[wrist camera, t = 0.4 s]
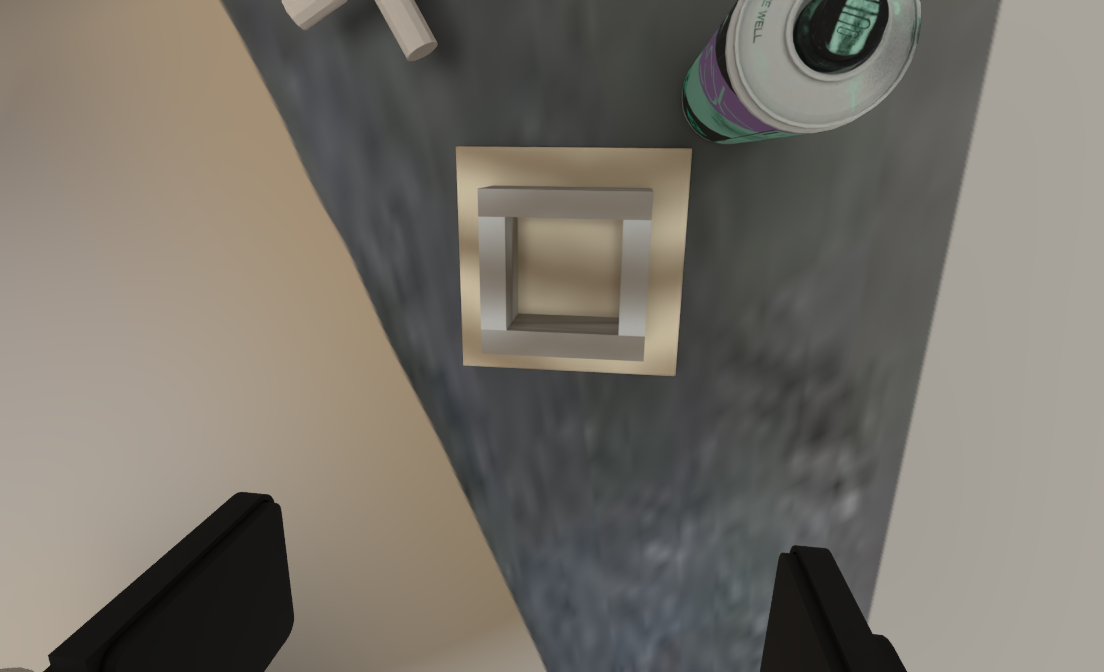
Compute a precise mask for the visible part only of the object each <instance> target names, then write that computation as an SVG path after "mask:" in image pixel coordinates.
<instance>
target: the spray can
mask: <svg viewBox="0 0 1104 672" xmlns="http://www.w3.org/2000/svg"><path fill="white" fill-rule="evenodd" d="M920 27H921V4H920V0H738V1H737V2H736V4H735V5H734V7H733V8H732V9H731V11H730V12H729V14H728V15H727V17H726V18H725V19H724V21H723V22H722V24H721V25H720V27H719V28H718V29H717V31H716V32H715V34H714V35H713V37H712V38H711V39H710V41H709V42H708V44H707V45H706V46H705V48H704V49H703V51H702V52H701V54H700V55H699V56H698V58H697V59H696V61H695V62H694V64H693V65H692V67H691V68H690V70H689V71H688V74H687V76H686V78H685V81H684V85H683V89H682V107H683V112H684V115H685V118H686V120H687V121H688V123H689V125H690V127H691V128H692V129H693V130H694V131H695V132H696V133H697V134H698V135H700V136H701V137H702V138H704V139H706V140H709V141H711V142H714V143H719V144H736V143H743V142H751V141H758V140H765V139H773V138H780V137H787V136H795V135H802V134H810V133H816V132H821V131H826V130H831V129H835V128H837V127H840V126H842V125H845V124H847V123H850V122H851V121H853V120H855V119H856V118H858V117H860V116H861V115H863V114H865V113H866V112H868V111H870V110H871V109H873V108H874V107H875V106H877V105H878V104H879V103H880V102H881V101H882V100H883V99H884V98H886V97H887V96H888V95H889V94H890V93H891V91H892V90H893V89H894V88H895V86H896V85H897V84H898V83H899V81H900V80H901V79H902V77H903V75H904V74H905V72H906V70H907V68H908V66H909V65H910V63H911V61H912V58H913V55H914V52H915V50H916V47H917V44H918V39H919V33H920Z"/></svg>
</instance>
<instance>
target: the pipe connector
mask: <svg viewBox="0 0 1104 672" xmlns="http://www.w3.org/2000/svg"><path fill="white" fill-rule="evenodd" d="M347 1H348V0H282V3H283V5H284V7H285V10H286V11H287V12H288V14H289V15H290V17H291V18H292V19H293V20H294V21H295V23H296V24H297V25H298V26H299V27H301V28H302V29H304V30H308V29H309V28H311V27H312V26H314V25H315V24H316V23H318V22H319V21H321V20H322V19H323V18H325V17H326V16H328V15H329V14H330V13H332V12H333V11H334V10H336V9H337V8H339V7H340V6H341V5H343V4H344V3H346V2H347ZM375 2H376V4H377V5H378V7H379V9H380V11H381V13H382V14H383V16H384V18H385V20H386V22H387V23H388V25H389V27H390V29H391V31H392V32H393V34H394V36H395V38H396V40H397V42H398V43H399V45H400V47H401V49H402V51H403V52H404V54H405V56H406V58H407V60H408V61H415V60H418V59H421V58H423V57H425V56H427V55H428V54H430V53H431V52H432V51H433V50H434V49H435V48H436V47H437V41H436V40H435V38H434V36H433V34H432V32H431V30H430V28H429V27H428V25H427V23H426V21H425V19H424V17H423V16H422V14H421V12H420V10H419V8H418V6H417V4H416V3H415V1H414V0H375Z"/></svg>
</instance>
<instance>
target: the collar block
mask: <svg viewBox="0 0 1104 672" xmlns="http://www.w3.org/2000/svg"><path fill="white" fill-rule="evenodd" d="M691 158H692V149H686V148H573V147H460V146H456V163H457V192H458V221H459V250H460V279H461V308H462V337H463V365H469V366H488V367H508V368H527V369H547V370H566V371H586V372H605V373H625V374H645V375H664V376H675V373H676V359H677V346H678V333H679V319H680V306H681V292H682V279H683V266H684V252H685V239H686V225H687V212H688V198H689V185H690V172H691Z"/></svg>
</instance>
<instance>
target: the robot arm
mask: <svg viewBox="0 0 1104 672" xmlns="http://www.w3.org/2000/svg"><path fill="white" fill-rule="evenodd" d="M293 623H294V612H293V603H292V595H291V588H290V578H289V570H288V562H287V553H286V545H285V537H284V529H283V521H282V512H281V507H280V505H279V504H277V503H274V500H273V498H272V497H271V496H270V495H268V494H257V493H248V492H239V493H236V494H235V495H233V496H232V497H231V498H230V499H229V500H228V501H226V503H224V504H223V505H222V506H221V507H219V508H218V509H217V510H216V511H215V512H214V513H213V514H211V516H209V517H208V518H207V519H206V520H204V521H203V522H202V523H201V524H200V525H199V526H198V527H196V528H195V529H194V530H193V531H192V532H191V533H190V534H188V535H187V536H186V537H185V538H183V539H182V540H181V541H180V542H179V543H178V544H177V545H175V546H174V547H173V548H172V549H171V550H170V551H168V552H167V553H166V554H165V555H164V556H163V557H162V558H160V559H159V560H158V561H157V562H156V563H155V564H153V565H152V566H151V567H150V568H149V569H148V570H146V571H145V572H144V573H143V574H142V575H141V576H140V577H138V578H137V579H136V580H135V581H134V582H133V583H131V584H130V585H129V586H128V587H127V588H126V589H124V590H123V591H122V592H121V593H120V594H119V595H117V596H116V597H115V598H114V599H113V600H112V601H111V602H109V603H108V604H107V605H106V606H105V607H104V608H102V609H101V610H100V611H99V612H98V613H97V614H95V615H94V616H93V617H92V618H91V619H90V620H89V621H87V622H86V623H85V624H84V625H83V626H82V627H80V628H79V629H78V630H77V631H76V632H75V633H73V634H72V635H71V636H70V637H69V638H68V639H67V640H65V641H64V642H63V643H62V644H61V645H60V646H59V647H57V648H56V649H55V650H54V651H53V652H51V653H50V654H49V655H48V657H49V661H50V666H49V667H48V668H47V669H46V670H45V671H43V672H264V671H265V670H266V668H267V667H268V665H269V664H270V663H271V661H272V659H273V658H274V657H275V655H276V654H277V652H278V651H279V650H280V648H281V647H282V646H283V644H284V643H285V641H286V640H287V638H288V637H289V635H290V633H291V630H292V627H293ZM0 672H34V671H32V670H29V669H24V668H4V669H0ZM760 672H907V671H906V669H905V667H904V665H903V664H902V662H901V660H900V658H899V656H898V654H897V652H896V651H895V649H894V647H893V646H892V644H891V643H890V641H889V640H888V639H887V638H886V637H884V636H883V635H876V634H872V632H871V630H870V628H869V626H868V624H867V622H866V620H865V618H864V616H863V614H862V612H861V610H860V608H859V607H858V605H857V603H856V601H855V599H854V597H853V595H852V593H851V591H850V589H849V587H848V585H847V583H846V581H845V579H844V577H843V575H842V573H841V571H840V570H839V568H838V566H837V564H836V562H835V560H834V558H833V556H832V554H831V552H830V551H829V550H828V549H826V548H817V547H807V546H797V545H794V546H792V548H791V550H790V553H781V554H780V556H779V560H778V566H777V572H776V578H775V584H774V590H773V596H772V602H771V608H770V614H769V620H768V626H767V632H766V638H765V644H764V650H763V656H762V662H761V668H760Z"/></svg>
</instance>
